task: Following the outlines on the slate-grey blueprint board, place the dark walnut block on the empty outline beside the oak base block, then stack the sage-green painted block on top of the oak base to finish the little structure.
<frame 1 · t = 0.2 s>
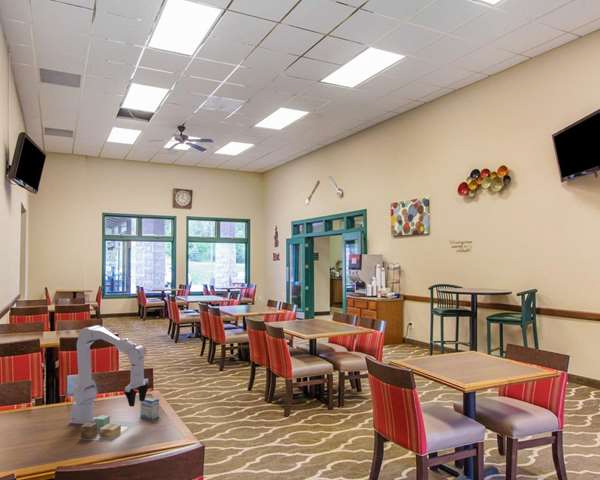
hand: (137, 403, 209), 10 cm above the table, fingers open, 7 cm apart
walnut block: (89, 436, 196), resting on blueprint board
medicine box: (149, 417, 220), on the table
blueprint board: (110, 431, 203), on the table
sage-green block: (102, 428, 205), resting on blueprint board
oak base block: (110, 435, 197), resting on blueprint board
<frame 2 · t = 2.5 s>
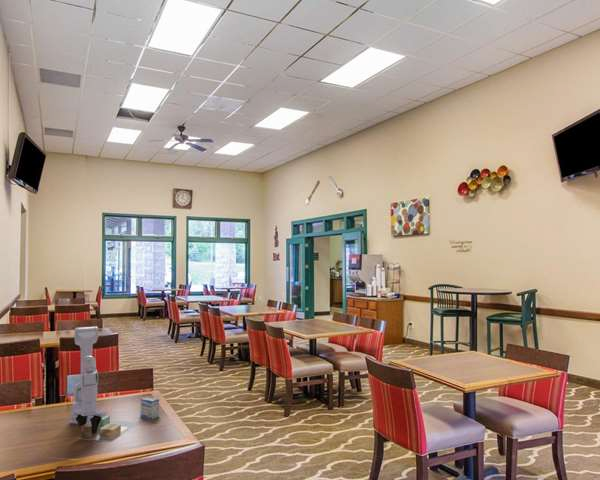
hand: (89, 433, 196), 2 cm above the table, fingers closed on walnut block, 4 cm apart
walnut block: (89, 436, 196), resting on blueprint board, touching gripper
everything else where it was.
when the fingers open (3 cm above the table, at t = 5.8 s): walnut block stays where it is, resting on blueprint board.
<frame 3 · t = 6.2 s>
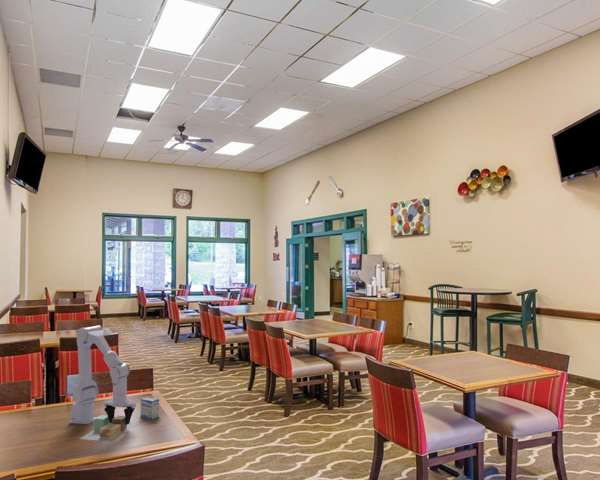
hand: (119, 423, 204), 3 cm above the table, fingers open, 7 cm apart
walnut block: (119, 429, 204), resting on blueprint board
everything else where it was.
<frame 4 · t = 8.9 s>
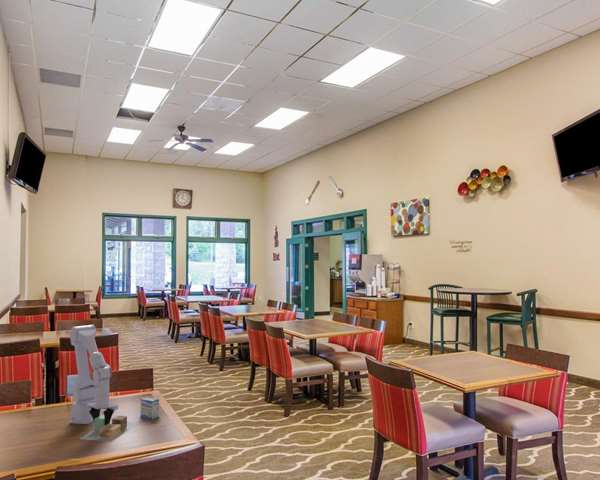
hand: (102, 425, 205), 2 cm above the table, fingers closed on sage-green block, 4 cm apart
sage-green block: (102, 428, 205), resting on blueprint board, touching gripper
everything else where it was.
when the fingers open (6 cm above the table, at t = 11.4 s): sage-green block stays where it is, resting on oak base block.
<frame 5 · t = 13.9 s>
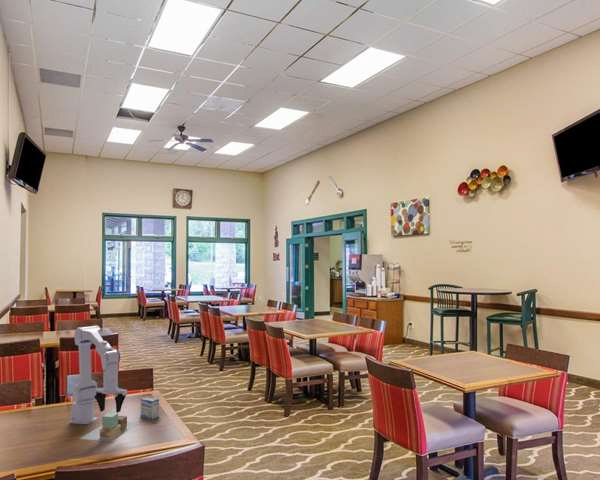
hand: (110, 411, 197), 10 cm above the table, fingers open, 7 cm apart
sage-green block: (110, 426, 197), point 4 cm above the table, touching oak base block
oak base block: (110, 435, 197), resting on blueprint board, touching sage-green block
everything else where it was.
at the end: sage-green block 0.1 cm off-centre on the oak base block, point 3.5 cm above the oak base block's base; sage-green block tilted 0°; walnut block 0.2 cm from the target spot, resting on blueprint board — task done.
